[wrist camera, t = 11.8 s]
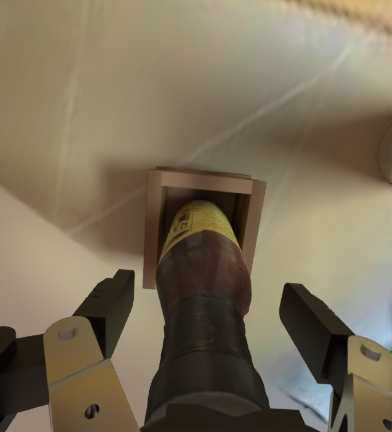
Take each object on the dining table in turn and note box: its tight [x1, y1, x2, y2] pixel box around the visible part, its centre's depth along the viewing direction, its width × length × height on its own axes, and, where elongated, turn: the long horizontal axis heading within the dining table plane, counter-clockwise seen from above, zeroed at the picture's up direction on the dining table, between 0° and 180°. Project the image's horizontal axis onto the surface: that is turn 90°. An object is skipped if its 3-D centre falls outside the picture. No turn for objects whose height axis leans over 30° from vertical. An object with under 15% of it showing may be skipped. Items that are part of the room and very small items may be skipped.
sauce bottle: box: [144, 198, 270, 425], centre depth 16 cm, size 6×6×20 cm
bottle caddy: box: [143, 167, 267, 289], centre depth 23 cm, size 11×12×7 cm
